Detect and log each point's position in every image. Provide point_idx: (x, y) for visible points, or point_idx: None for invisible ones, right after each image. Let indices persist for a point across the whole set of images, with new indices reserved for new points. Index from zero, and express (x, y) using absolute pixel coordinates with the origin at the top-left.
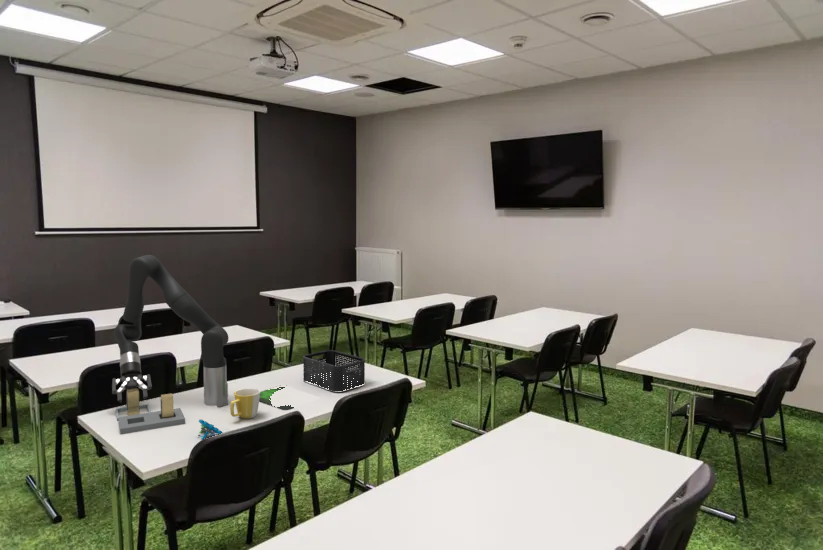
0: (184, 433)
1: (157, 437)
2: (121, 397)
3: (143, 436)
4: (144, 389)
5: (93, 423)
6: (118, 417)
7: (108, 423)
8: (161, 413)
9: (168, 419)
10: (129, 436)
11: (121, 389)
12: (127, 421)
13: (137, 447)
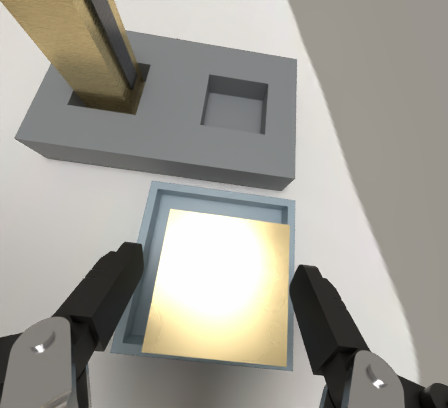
0: (120, 12)
1: (194, 29)
2: (313, 285)
3: None
4: (77, 315)
5: (370, 263)
6: (289, 211)
7: (315, 228)
8: (132, 63)
9: None
10: None
11: (359, 393)
12: (267, 109)
13: (253, 7)
